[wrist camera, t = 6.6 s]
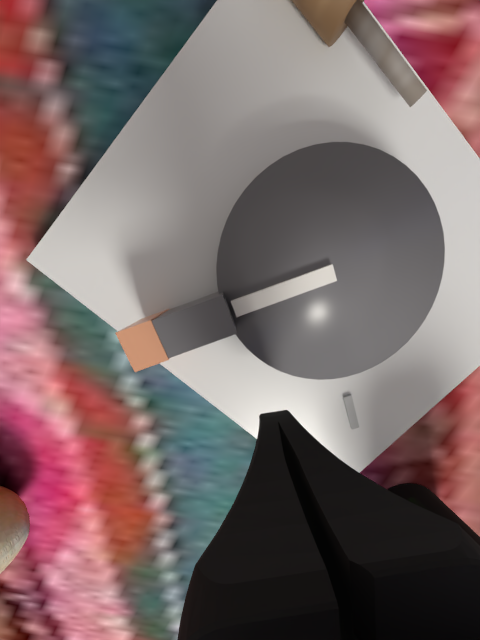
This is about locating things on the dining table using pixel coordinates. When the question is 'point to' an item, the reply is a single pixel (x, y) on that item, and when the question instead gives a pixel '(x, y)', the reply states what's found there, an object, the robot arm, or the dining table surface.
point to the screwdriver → (362, 39)
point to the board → (229, 183)
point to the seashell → (12, 526)
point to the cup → (431, 504)
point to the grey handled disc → (314, 268)
